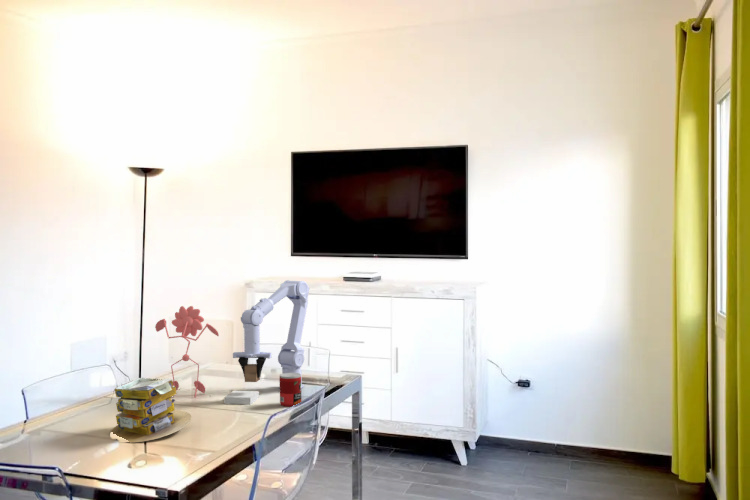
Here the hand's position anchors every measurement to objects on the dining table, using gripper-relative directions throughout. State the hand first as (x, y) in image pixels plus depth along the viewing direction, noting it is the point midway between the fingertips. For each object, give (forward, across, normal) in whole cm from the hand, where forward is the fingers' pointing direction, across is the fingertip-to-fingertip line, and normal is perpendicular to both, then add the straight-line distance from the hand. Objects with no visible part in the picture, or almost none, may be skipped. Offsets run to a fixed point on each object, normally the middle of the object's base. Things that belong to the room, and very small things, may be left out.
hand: (252, 377), depth 244 cm
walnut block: (+1, 0, 0) cm, 1 cm away
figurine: (+9, -28, +8) cm, 31 cm away
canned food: (+9, +16, -6) cm, 20 cm away
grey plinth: (+9, -4, -2) cm, 10 cm away
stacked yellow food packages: (+9, -20, -42) cm, 47 cm away
